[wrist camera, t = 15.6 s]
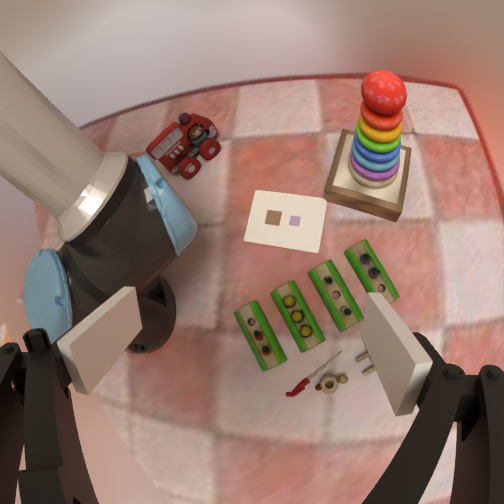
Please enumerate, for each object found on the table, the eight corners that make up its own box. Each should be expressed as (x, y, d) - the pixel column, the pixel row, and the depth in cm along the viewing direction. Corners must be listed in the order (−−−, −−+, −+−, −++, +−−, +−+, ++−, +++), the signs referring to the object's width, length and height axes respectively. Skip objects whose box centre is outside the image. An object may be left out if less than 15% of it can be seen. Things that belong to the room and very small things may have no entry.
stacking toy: (376, 139, 40) (391, 48, 22) (406, 176, 37) (442, 91, 20) (337, 158, 41) (336, 65, 23) (366, 199, 38) (388, 113, 21)
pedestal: (324, 200, 44) (324, 188, 40) (342, 142, 46) (342, 127, 42) (395, 222, 40) (401, 212, 36) (406, 160, 42) (411, 147, 38)
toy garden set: (364, 240, 42) (368, 231, 37) (422, 346, 36) (433, 348, 31) (235, 313, 44) (226, 311, 40) (290, 419, 38) (286, 429, 34)
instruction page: (243, 241, 46) (243, 240, 46) (256, 190, 48) (255, 189, 47) (318, 253, 42) (318, 253, 42) (327, 199, 44) (327, 198, 44)
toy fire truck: (230, 143, 52) (211, 109, 42) (182, 188, 52) (154, 160, 42) (209, 127, 54) (189, 95, 44) (165, 169, 54) (137, 142, 44)
